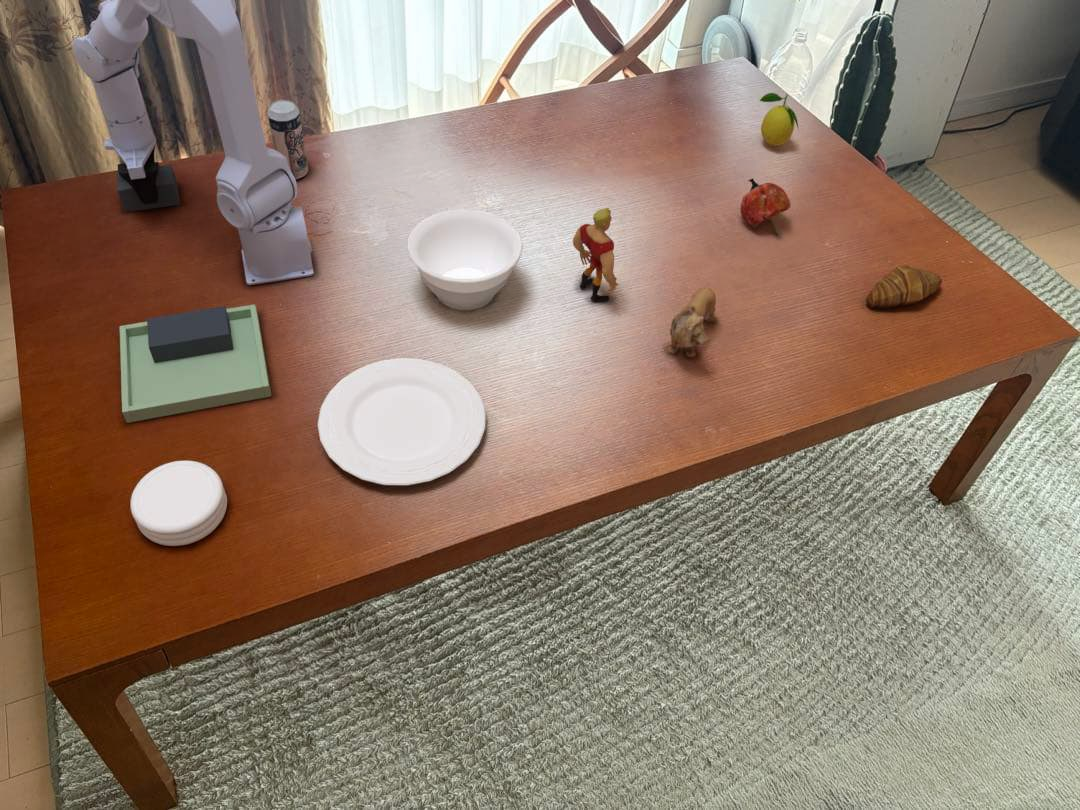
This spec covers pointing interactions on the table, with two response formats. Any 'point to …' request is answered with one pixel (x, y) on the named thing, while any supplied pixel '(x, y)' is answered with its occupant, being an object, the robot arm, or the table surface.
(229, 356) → the tray
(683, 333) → the lion figurine
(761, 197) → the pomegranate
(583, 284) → the action figure
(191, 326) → the pad
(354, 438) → the plate
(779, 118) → the lemon
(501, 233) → the bowl
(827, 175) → the table surface
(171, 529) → the white short cylinder
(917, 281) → the croissant
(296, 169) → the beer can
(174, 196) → the loose pad
